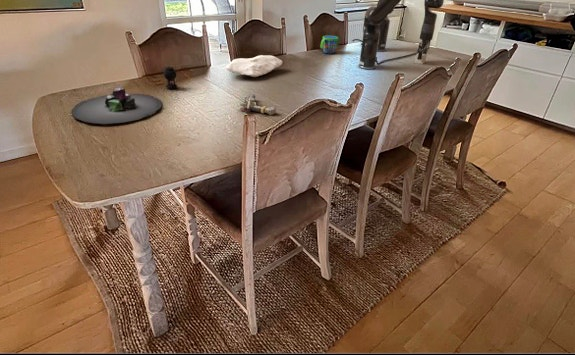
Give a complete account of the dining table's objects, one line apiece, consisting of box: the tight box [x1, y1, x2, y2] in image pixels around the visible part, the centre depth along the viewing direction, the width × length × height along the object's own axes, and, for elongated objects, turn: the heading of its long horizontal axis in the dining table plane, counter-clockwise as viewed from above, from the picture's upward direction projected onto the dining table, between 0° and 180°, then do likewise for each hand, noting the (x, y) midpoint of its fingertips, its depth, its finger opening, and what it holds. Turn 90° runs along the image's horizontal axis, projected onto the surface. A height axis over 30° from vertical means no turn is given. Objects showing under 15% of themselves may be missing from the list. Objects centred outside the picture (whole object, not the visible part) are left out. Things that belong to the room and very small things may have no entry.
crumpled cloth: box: [225, 54, 283, 78], centre depth 198 cm, size 24×35×9 cm
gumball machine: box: [161, 66, 179, 90], centre depth 173 cm, size 7×6×10 cm
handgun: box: [239, 93, 277, 116], centre depth 158 cm, size 3×18×15 cm
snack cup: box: [319, 34, 340, 55], centre depth 242 cm, size 16×10×10 cm
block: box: [414, 53, 427, 65], centre depth 231 cm, size 5×5×5 cm
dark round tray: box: [70, 86, 163, 125], centre depth 150 cm, size 35×35×9 cm
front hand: (421, 58), depth 231 cm, fingers open, 8 cm apart
